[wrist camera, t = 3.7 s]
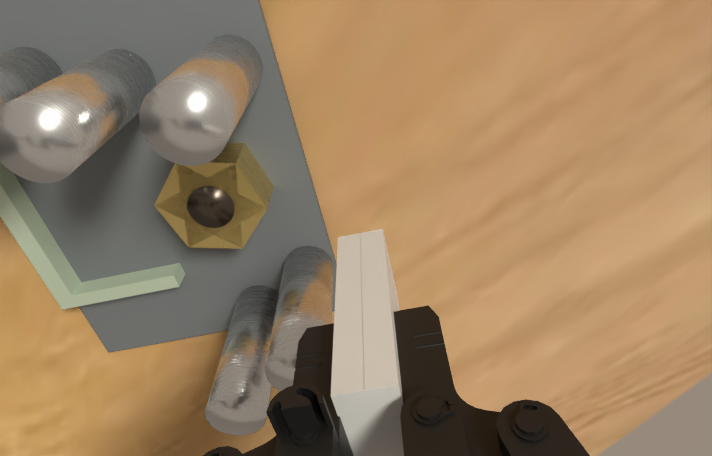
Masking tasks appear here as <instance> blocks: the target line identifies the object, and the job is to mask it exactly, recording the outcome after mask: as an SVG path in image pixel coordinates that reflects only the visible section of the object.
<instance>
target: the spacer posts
mask: <svg viewBox="0 0 712 456" xmlns="http://www.w3.org/2000/svg"><path fill="white" fill-rule="evenodd" d="M262 75H263V64H262V60H261V57H260V55H259V53H258V51H257V50H256V48H255V47H254V46H253V45H252V44H251V43H250V42H248V41H247V40H245V39H243V38H242V37H239V36H235V35H221V36H218V37H216V38H214V39H213V40H211V41H210V42H209V43H207V44H206V45H205V46H204V47H203V48H201V49H200V50H199V51H198V52H197V53H195V54H194V55H193V56H192V57H191V58H189V59H188V60H187V61H186V62H185V63H183V64H182V65H181V66H180V67H179V68H177V69H176V70H175V71H174V72H173V73H171V74H170V75H169V76H168V77H167V78H165V79H164V80H163V81H162V82H161V83H159V84H158V85H157V86H156V80H155V76H154V74H153V72H152V70H151V68H150V66H149V65H148V64H147V63H146V62H145V61H144V60H143V59H142V58H141V57H140V56H138V55H137V54H135V53H133V52H131V51H128V50H124V49H112V50H109V51H106V52H104V53H102V54H100V55H99V56H97V57H95V58H93V59H91V60H89V61H87V62H85V63H83V64H81V65H79V66H77V67H75V68H73V69H71V70H69V71H67V72H65V73H62V71H61V69H60V67H59V66H58V65H57V63H56V62H55V61H54V60H53V59H52V58H51V57H50V56H48V55H47V54H45V53H44V52H42V51H40V50H38V49H35V48H31V47H17V48H14V49H11V50H8V51H5V52H3V53H0V162H1V163H2V164H3V165H4V166H5V167H6V168H7V169H9V170H10V171H11V172H13V173H14V174H16V175H18V176H20V177H22V178H24V179H27V180H30V181H33V182H38V183H53V182H57V181H60V180H63V179H65V178H66V177H67V176H69V175H70V174H71V173H72V172H73V171H74V170H75V169H77V168H78V167H79V166H80V165H81V164H82V163H83V162H84V161H86V160H87V159H88V158H89V157H90V156H91V155H92V154H93V153H95V152H96V151H97V150H98V149H99V148H100V147H101V146H102V145H103V144H105V143H106V142H107V141H108V140H109V139H110V138H111V137H112V136H114V135H115V134H116V133H117V132H118V131H119V130H120V129H121V128H123V127H124V126H125V125H126V124H127V123H128V122H129V121H130V120H132V119H133V118H134V117H135V116H136V115H137V114H138V113H139V122H140V127H141V131H142V133H143V135H144V137H145V139H146V141H147V142H148V144H149V145H150V146H151V147H152V149H153V150H154V151H155V152H157V153H158V154H159V155H160V156H162V157H163V158H165V159H167V160H168V161H171V162H173V163H176V164H179V165H184V166H197V165H202V164H206V163H208V162H210V161H212V160H213V159H215V158H216V157H217V156H218V155H219V154H220V153H221V152H222V150H223V149H224V147H225V145H226V144H227V142H228V140H229V138H230V136H231V134H232V133H233V131H234V129H235V127H236V125H237V124H238V122H239V120H240V118H241V116H242V115H243V113H244V111H245V109H246V107H247V106H248V104H249V102H250V100H251V98H252V96H253V95H254V93H255V91H256V89H257V87H258V86H259V84H260V82H261V79H262ZM332 294H333V261H332V259H331V257H330V256H329V254H328V253H327V252H325V251H324V250H322V249H320V248H318V247H314V246H301V247H298V248H296V249H294V250H292V251H291V252H290V253H289V254H288V255H287V257H286V259H285V262H284V267H283V273H282V278H281V284H280V289H279V293H278V292H277V291H275V290H274V289H272V288H270V287H267V286H260V285H259V286H251V287H248V288H246V289H245V290H243V291H242V292H241V293H240V294H239V296H238V299H237V302H236V306H235V309H234V313H233V316H232V320H231V323H230V326H229V330H228V333H227V337H226V340H225V344H224V347H223V351H222V354H221V357H220V361H219V364H218V368H217V371H216V375H215V378H214V382H213V385H212V388H211V392H210V395H209V399H208V402H207V406H206V409H205V417H206V419H207V421H208V423H209V424H210V425H211V426H212V427H213V428H215V429H216V430H218V431H220V432H223V433H226V434H230V435H247V434H251V433H254V432H256V431H258V430H259V429H261V428H262V427H263V425H264V424H265V422H266V418H267V413H266V411H267V408H268V406H269V399H270V393H271V387H272V386H273V387H274V388H276V389H278V390H279V391H282V390H284V389H285V388H287V387H290V386H293V380H294V372H295V364H296V359H297V349H298V342H299V340H300V338H301V337H302V335H303V334H304V332H305V330H306V329H307V328H310V327H315V326H321V325H327V324H331V323H332Z"/></svg>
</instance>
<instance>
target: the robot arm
mask: <svg viewBox="0 0 712 456" xmlns="http://www.w3.org/2000/svg"><path fill="white" fill-rule="evenodd" d="M266 413H267V415H268V417H269V419H270V421H271V424H272V426H273V428H274V430H275V432H276V434H277V435H276V436H275V437H274V438H273V439H271V440H270V441H268V442H267V443H265V444H263V445H261V446H259V447H257V448H255V449H253V450H250V451H248V452H246V453H244V454H242V453H241V452H240V451H239V450H238V449H236V448H233V447H229V446H226V447H218V448H216V449H214V450H211V451H209V452H207V453H206V454H205V455H203V456H590V455H589V454H588V453H587V451H586V450H585V449H584V447H583V446H582V445H581V443H580V442H579V441H578V440H577V438H576V437H575V436H574V434H573V433H572V432H571V430H570V429H569V428H568V426H567V425H566V424H565V422H564V421H563V420H562V418H561V417H560V416H559V415H558V414H557V413H556V412H555V411H554V410H553V409H552V408H551V407H550V406H547V405H545V404H543V403H541V402H539V401H532V400H521V401H515V402H512V403H511V404H509V405H507V406H506V407H504V408H503V409H502V411H501V412H495V411H487V410H482V409H478V408H475V407H473V406H471V405H469V404H467V403H466V402H465V401H463V400H462V399H461V398H460V397H459V395H458V394H457V393H456V390H455V388H454V384H453V380H452V375H451V371H450V366H449V362H448V357H447V353H446V348H445V344H444V339H443V335H442V330H441V326H440V321H439V317H438V316H437V314H436V313H435V312H434V311H433V310H432V309H431V308H430V307H429V306H424V307H418V308H412V309H406V310H401V311H399V304H398V296H397V290H396V286H395V281H394V277H393V272H392V268H391V264H390V259H389V255H388V250H387V246H386V241H385V237H384V233H383V229H379V230H374V231H369V232H363V233H358V234H353V235H348V236H343V237H338V248H337V269H336V291H335V312H334V323H333V324H327V325H321V326H315V327H310V328H307V329H306V330H305V332H304V334H303V335H302V337H301V338H300V340H299V342H298V349H297V359H296V364H295V372H294V380H293V386H290V387H287V388H285V389H284V390H282V391H281V392H279V393H278V394H277V395H276V396H275V397H274V398H273V399H272V400H271V402H270V403H269V406H268V408H267V411H266Z"/></svg>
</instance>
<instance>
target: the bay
mask: <svg viewBox="0 0 712 456" xmlns="http://www.w3.org/2000/svg"><path fill="white" fill-rule="evenodd" d="M0 217H1V219H2V220H3V222H4V223H5V225H6V226H7V228H8V229H9V231H10V232H11V234H12V235H13V237H14V238H15V240H16V241H17V243H18V244H19V246H20V247H21V249H22V250H23V251H24V253H25V254H26V256H27V257H28V259H29V260H30V262H31V263H32V265H33V266H34V268H35V269H36V271H37V272H38V274H39V275H40V277H41V278H42V280H43V281H44V283H45V284H46V286H47V287H48V289H49V290H50V292H51V293H52V295H53V296H54V298H55V299H56V301H57V302H58V304H59V305H60V307H61V308H62V310H63V309H68V308H73V307H79V306H84V305H89V304H94V303H99V302H104V301H109V300H114V299H120V298H125V297H130V296H135V295H140V294H145V293H150V292H155V291H161V290H166V289H171V288H176V287H180V284H181V282H182V280H183V278H184V276H185V272H184V270H183V268H182V266H181V264H180V263H176V264H171V265H166V266H161V267H156V268H151V269H146V270H141V271H136V272H131V273H126V274H121V275H116V276H111V277H106V278H101V279H96V280H91V281H86V282H81V281H80V279H79V278H78V276H77V275H76V273H75V271H74V270H73V268H72V266H71V265H70V263H69V262H68V260H67V258H66V257H65V255H64V254H63V252H62V250H61V249H60V247H59V246H58V244H57V242H56V241H55V239H54V238H53V236H52V234H51V233H50V231H49V230H48V228H47V226H46V225H45V223H44V221H43V220H42V218H41V217H40V215H39V213H38V212H37V210H36V209H35V207H34V205H33V204H32V202H31V201H30V199H29V197H28V196H27V194H26V193H25V191H24V189H23V188H22V186H21V184H20V183H19V181H18V180H17V178H16V176H15V175H14V173H13V172H11V171H10V170H9V169H7V168H6V167H5V166H4V165H3V164H2V163H1V162H0Z"/></svg>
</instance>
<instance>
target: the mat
mask: <svg viewBox="0 0 712 456" xmlns="http://www.w3.org/2000/svg"><path fill="white" fill-rule="evenodd" d="M221 35H235V36H239V37H242V38H243V39H245V40H247V41H248V42H250V43H251V44H252V45H253V46H254V47H255V48H256V50H257V51H258V53H259V55H260V57H261V60H262V64H263V75H262V79H261V82H260V84H259V86H258V87H257V89H256V91H255V93H254V95H253V96H252V98H251V100H250V102H249V104H248V106H247V107H246V109H245V111H244V113H243V115H242V116H241V118H240V120H239V122H238V124H237V125H236V127H235V129H234V131H233V133H232V134H231V136H230V138H229V140H228V142H230V143H245V144H246V145H247V147H248V148H249V150H250V151H251V153H252V154H253V156H254V157H255V159H256V160H257V162H258V163H259V165H260V166H261V168H262V169H263V171H264V172H265V174H266V175H267V177H268V178H269V180H270V181H271V183H272V184H273V186H274V187H273V191H272V194H271V198H270V202H269V205H268V209H267V210H266V212H265V214H264V215H263V217H262V218H261V220H260V222H259V223H258V225H257V227H256V228H255V230H254V231H253V233H252V235H251V236H250V238H249V239H248V241H247V243H246V244H245V246H244V247H243V249H231V248H194V247H188V246H187V245H186V244H185V242H184V241H183V240H182V239H181V238H180V236H179V235H178V234H177V233H176V232H175V230H174V229H173V228H172V227H171V225H170V224H169V223H168V222H167V221H166V219H165V218H164V217H163V216H162V215H161V213H160V212H159V211H158V210H157V209H156V207H155V206H154V205H155V203H156V201H157V199H158V197H159V194H160V192H161V190H162V188H163V186H164V184H165V182H166V180H167V178H168V176H169V174H170V172H171V170H172V168H173V166H174V164H175V163H173V162H171V161H168V160H167V159H165V158H163V157H162V156H160V155H159V154H158V153H157V152H155V151H154V150H153V149H152V147H151V146H150V145H149V144H148V142H147V141H146V139H145V137H144V135H143V133H142V131H141V127H140V122H139V113H138V114H137V115H136V116H135V117H134V118H133V119H132V120H130V121H129V122H128V123H127V124H126V125H125V126H124V127H123V128H121V129H120V130H119V131H118V132H117V133H116V134H115V135H114V136H112V137H111V138H110V139H109V140H108V141H107V142H106V143H105V144H103V145H102V146H101V147H100V148H99V149H98V150H97V151H96V152H95V153H93V154H92V155H91V156H90V157H89V158H88V159H87V160H86V161H84V162H83V163H82V164H81V165H80V166H79V167H78V168H77V169H75V170H74V171H73V172H72V173H71V174H70V175H69V176H67V177H66V178H65V179H63V180H60V181H57V182H53V183H38V182H33V181H30V180H27V179H24V178H22V177H20V176H18V175H16V174H14V175H15V176H16V178H17V180H18V181H19V183H20V184H21V186H22V188H23V189H24V191H25V193H26V194H27V196H28V197H29V199H30V201H31V202H32V204H33V205H34V207H35V209H36V210H37V212H38V213H39V215H40V217H41V218H42V220H43V221H44V223H45V225H46V226H47V228H48V230H49V231H50V233H51V234H52V236H53V238H54V239H55V241H56V242H57V244H58V246H59V247H60V249H61V250H62V252H63V254H64V255H65V257H66V258H67V260H68V262H69V263H70V265H71V266H72V268H73V270H74V271H75V273H76V275H77V276H78V278H79V279H80V281H81V282H86V281H91V280H96V279H101V278H106V277H111V276H116V275H121V274H126V273H131V272H136V271H141V270H146V269H151V268H156V267H161V266H166V265H171V264H176V263H180V264H181V266H182V268H183V270H184V272H185V276H184V278H183V280H182V282H181V284H180V287H176V288H171V289H166V290H161V291H155V292H150V293H145V294H140V295H135V296H130V297H125V298H120V299H114V300H109V301H104V302H99V303H94V304H89V305H84V306H79V308H80V309H81V311H82V312H83V314H84V315H85V317H86V318H87V320H88V321H89V323H90V325H91V326H92V328H93V329H94V331H95V332H96V334H97V335H98V337H99V339H100V340H101V342H102V343H103V345H104V346H105V348H106V349H107V351H108V352H114V351H120V350H125V349H131V348H136V347H141V346H147V345H152V344H158V343H163V342H168V341H174V340H179V339H185V338H190V337H196V336H201V335H206V334H212V333H217V332H223V331H228V330H229V326H230V323H231V320H232V316H233V313H234V309H235V306H236V302H237V299H238V296H239V294H240V293H241V292H242V291H243V290H245V289H246V288H248V287H251V286H259V285H260V286H267V287H270V288H272V289H274V290H275V291H277V292H278V293H279V289H280V284H281V278H282V273H283V267H284V262H285V259H286V257H287V255H288V254H289V253H290V252H291V251H292V250H294V249H296V248H298V247H301V246H314V247H318V248H320V249H322V250H324V251H325V252H327V253H328V254H329V256H330V257H331V259H332V261H333V294H332V311H335V291H336V269H337V264H336V261H335V257H334V254H333V251H332V247H331V244H330V240H329V237H328V233H327V230H326V227H325V223H324V220H323V216H322V213H321V210H320V206H319V203H318V199H317V196H316V192H315V189H314V186H313V182H312V179H311V175H310V172H309V169H308V165H307V162H306V158H305V155H304V151H303V148H302V145H301V141H300V138H299V134H298V131H297V128H296V124H295V121H294V117H293V114H292V110H291V107H290V104H289V100H288V97H287V93H286V90H285V87H284V83H283V80H282V76H281V73H280V69H279V66H278V63H277V59H276V56H275V52H274V49H273V46H272V42H271V39H270V35H269V32H268V28H267V25H266V22H265V18H264V15H263V11H262V8H261V5H260V1H259V0H0V53H3V52H5V51H8V50H11V49H14V48H17V47H31V48H35V49H38V50H40V51H42V52H44V53H45V54H47V55H48V56H50V57H51V58H52V59H53V60H54V61H55V62H56V63H57V65H58V66H59V67H60V69H61V71H62V73H65V72H67V71H69V70H71V69H73V68H75V67H77V66H79V65H81V64H83V63H85V62H87V61H89V60H91V59H93V58H95V57H97V56H99V55H100V54H102V53H104V52H106V51H109V50H112V49H124V50H128V51H131V52H133V53H135V54H137V55H138V56H140V57H141V58H142V59H143V60H144V61H145V62H146V63H147V64H148V65H149V66H150V68H151V70H152V72H153V74H154V76H155V80H156V86H157V85H158V84H159V83H161V82H162V81H163V80H164V79H165V78H167V77H168V76H169V75H170V74H171V73H173V72H174V71H175V70H176V69H177V68H179V67H180V66H181V65H182V64H183V63H185V62H186V61H187V60H188V59H189V58H191V57H192V56H193V55H194V54H195V53H197V52H198V51H199V50H200V49H201V48H203V47H204V46H205V45H206V44H207V43H209V42H210V41H211V40H213V39H214V38H216V37H218V36H221Z"/></svg>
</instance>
